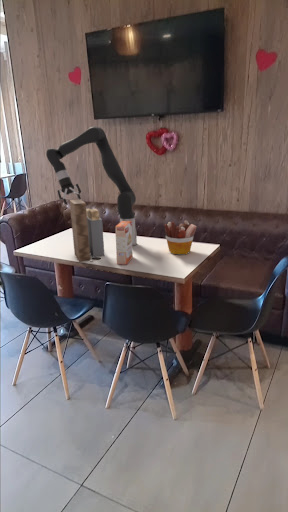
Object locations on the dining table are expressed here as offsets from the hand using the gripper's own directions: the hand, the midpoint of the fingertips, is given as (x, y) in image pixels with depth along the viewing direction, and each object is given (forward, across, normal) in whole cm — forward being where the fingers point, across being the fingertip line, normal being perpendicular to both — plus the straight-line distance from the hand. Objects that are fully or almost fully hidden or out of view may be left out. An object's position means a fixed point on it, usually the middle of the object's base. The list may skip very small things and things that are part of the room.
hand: (73, 202), depth 231 cm
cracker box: (+45, -11, +37) cm, 59 cm away
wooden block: (+35, +10, +24) cm, 43 cm away
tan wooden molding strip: (+14, -4, +23) cm, 27 cm away
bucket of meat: (+53, -43, +34) cm, 76 cm away
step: (+36, +1, +21) cm, 41 cm away
